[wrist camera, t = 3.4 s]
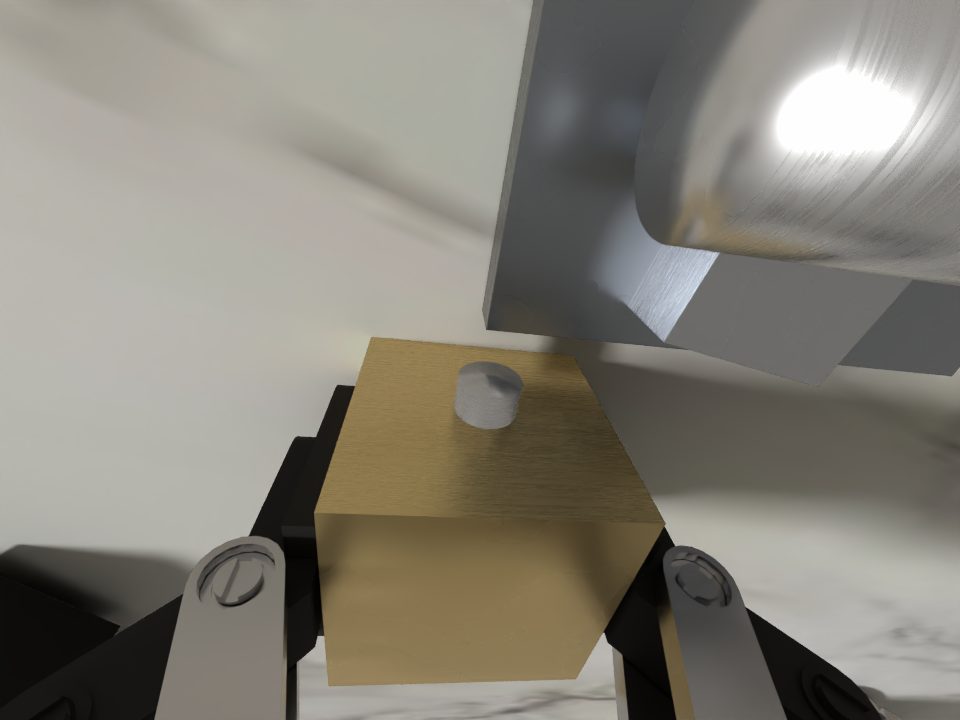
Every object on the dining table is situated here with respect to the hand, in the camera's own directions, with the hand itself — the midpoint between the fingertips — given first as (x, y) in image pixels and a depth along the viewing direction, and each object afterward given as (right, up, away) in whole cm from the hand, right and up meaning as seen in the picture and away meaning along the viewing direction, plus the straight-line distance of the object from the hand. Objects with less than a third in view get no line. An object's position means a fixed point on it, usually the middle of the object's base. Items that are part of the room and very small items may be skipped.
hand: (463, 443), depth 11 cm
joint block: (0, 0, +1) cm, 1 cm away
